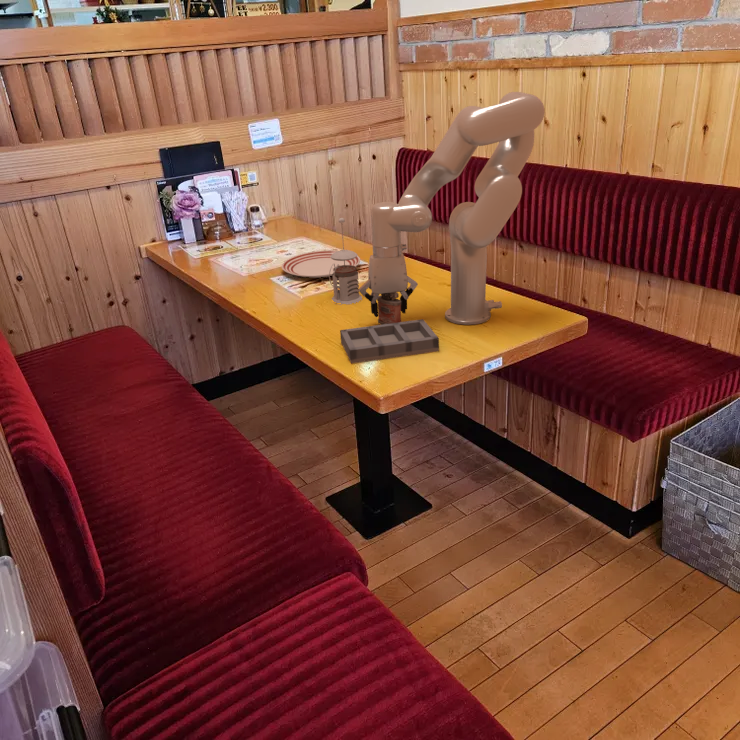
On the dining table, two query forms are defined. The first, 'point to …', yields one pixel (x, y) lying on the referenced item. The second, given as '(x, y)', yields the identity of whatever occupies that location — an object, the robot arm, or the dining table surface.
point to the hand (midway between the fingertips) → (389, 313)
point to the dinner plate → (315, 264)
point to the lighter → (389, 308)
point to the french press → (346, 284)
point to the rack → (389, 341)
